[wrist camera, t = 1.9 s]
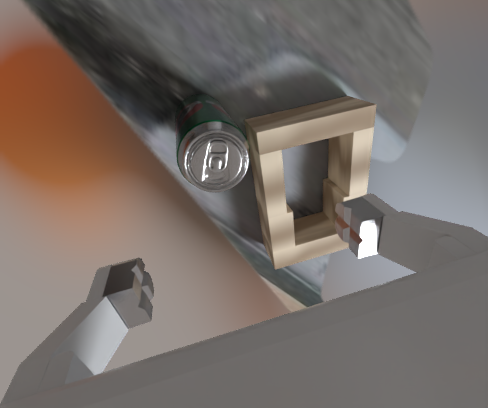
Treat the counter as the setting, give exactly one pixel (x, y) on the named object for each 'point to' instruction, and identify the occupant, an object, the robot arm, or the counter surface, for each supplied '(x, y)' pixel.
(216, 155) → the soda can
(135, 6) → the counter surface
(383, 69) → the counter surface
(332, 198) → the keyhole board
